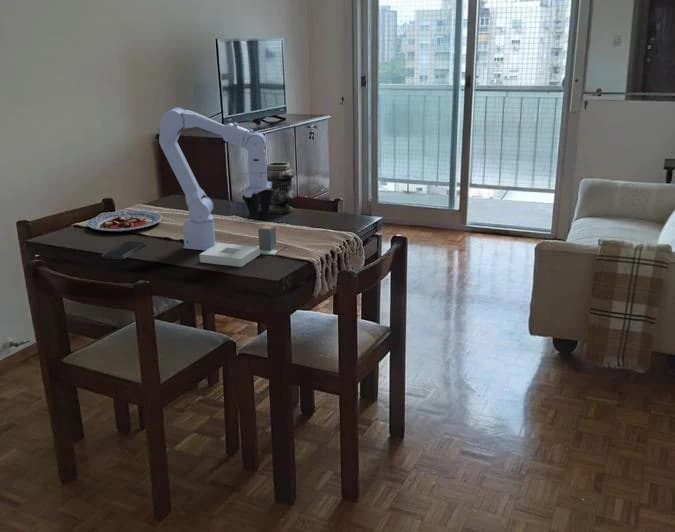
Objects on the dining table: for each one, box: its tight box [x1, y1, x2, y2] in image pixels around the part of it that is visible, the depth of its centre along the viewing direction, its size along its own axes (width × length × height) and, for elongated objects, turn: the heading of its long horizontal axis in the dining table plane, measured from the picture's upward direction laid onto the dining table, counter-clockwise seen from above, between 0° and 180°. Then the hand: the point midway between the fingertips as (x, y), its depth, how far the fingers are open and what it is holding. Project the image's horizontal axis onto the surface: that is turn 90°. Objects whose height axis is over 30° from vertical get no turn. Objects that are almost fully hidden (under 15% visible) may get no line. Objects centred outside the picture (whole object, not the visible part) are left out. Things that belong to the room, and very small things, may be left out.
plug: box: [257, 224, 277, 251], centre depth 219 cm, size 4×4×7 cm
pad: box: [255, 245, 281, 256], centre depth 220 cm, size 9×9×1 cm
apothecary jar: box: [267, 161, 296, 214], centre depth 264 cm, size 12×12×18 cm
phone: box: [101, 241, 147, 260], centre depth 221 cm, size 8×1×15 cm
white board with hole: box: [199, 242, 261, 268], centre depth 212 cm, size 14×12×2 cm
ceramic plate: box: [86, 210, 163, 233], centre depth 250 cm, size 26×26×3 cm
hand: (259, 214), depth 221 cm, fingers open, 7 cm apart
